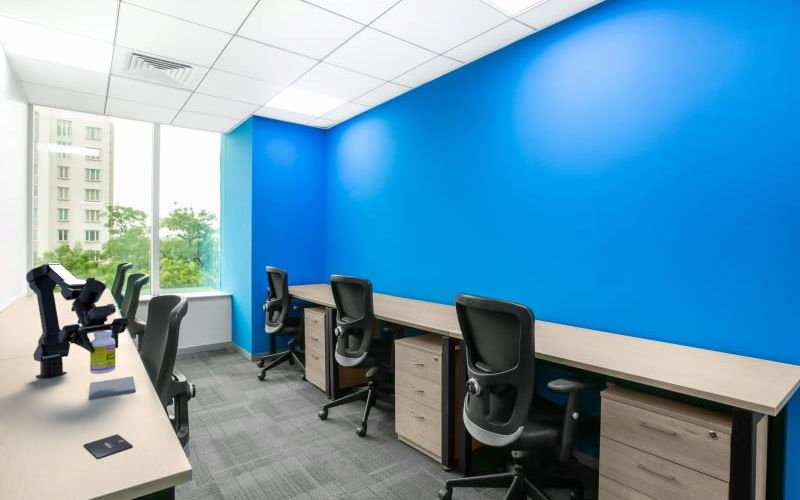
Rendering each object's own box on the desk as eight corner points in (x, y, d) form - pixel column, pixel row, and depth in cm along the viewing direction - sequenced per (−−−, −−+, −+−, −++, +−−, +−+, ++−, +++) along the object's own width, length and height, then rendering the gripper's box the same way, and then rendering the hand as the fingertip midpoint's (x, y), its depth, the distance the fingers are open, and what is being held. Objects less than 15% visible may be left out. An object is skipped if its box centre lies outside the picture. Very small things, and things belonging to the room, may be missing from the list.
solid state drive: (117, 436, 103) (117, 433, 103) (133, 448, 97) (133, 445, 97) (83, 447, 97) (83, 444, 97) (97, 461, 91) (97, 458, 91)
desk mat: (90, 385, 140) (90, 382, 140) (132, 379, 147) (132, 376, 147) (88, 399, 127) (88, 396, 127) (135, 391, 134) (135, 388, 134)
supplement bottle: (107, 374, 132) (107, 333, 132) (85, 374, 132) (85, 333, 131) (120, 368, 139) (119, 329, 139) (99, 368, 138) (99, 329, 138)
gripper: (62, 299, 129) (81, 339, 123) (126, 293, 145) (145, 328, 140) (50, 323, 133) (67, 362, 127) (114, 314, 149) (131, 349, 144)
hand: (105, 349), depth 134 cm, fingers closed on supplement bottle, 7 cm apart
